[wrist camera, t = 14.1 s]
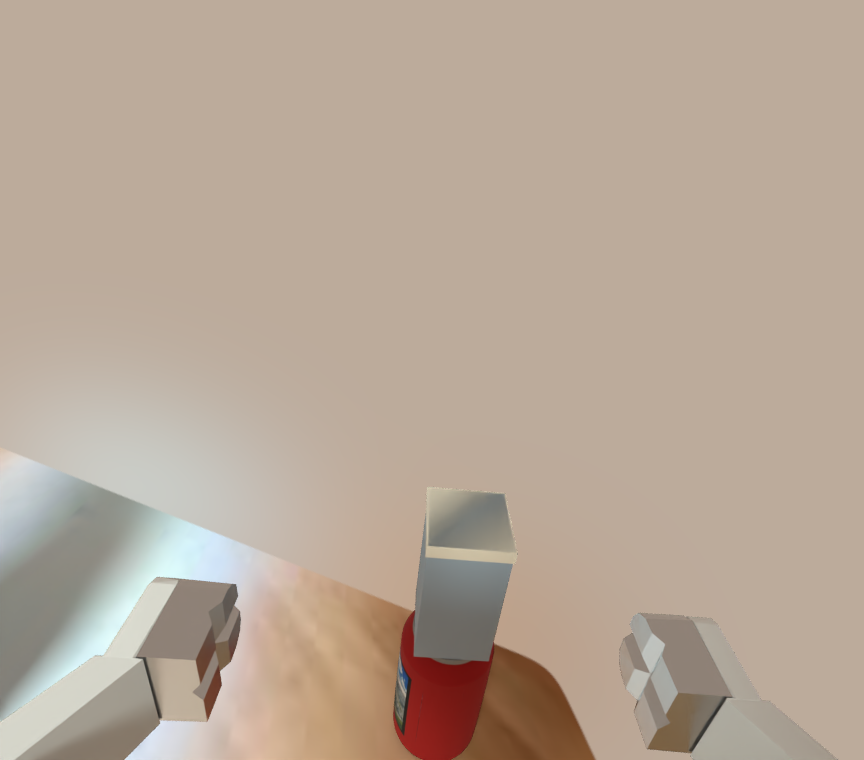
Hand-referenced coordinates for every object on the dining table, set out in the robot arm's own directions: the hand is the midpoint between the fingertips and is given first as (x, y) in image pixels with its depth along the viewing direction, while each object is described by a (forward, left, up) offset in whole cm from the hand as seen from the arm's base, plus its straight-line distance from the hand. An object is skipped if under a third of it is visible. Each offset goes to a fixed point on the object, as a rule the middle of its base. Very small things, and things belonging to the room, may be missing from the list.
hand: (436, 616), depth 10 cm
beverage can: (+3, +16, -34) cm, 38 cm away
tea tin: (+3, +16, -22) cm, 27 cm away
